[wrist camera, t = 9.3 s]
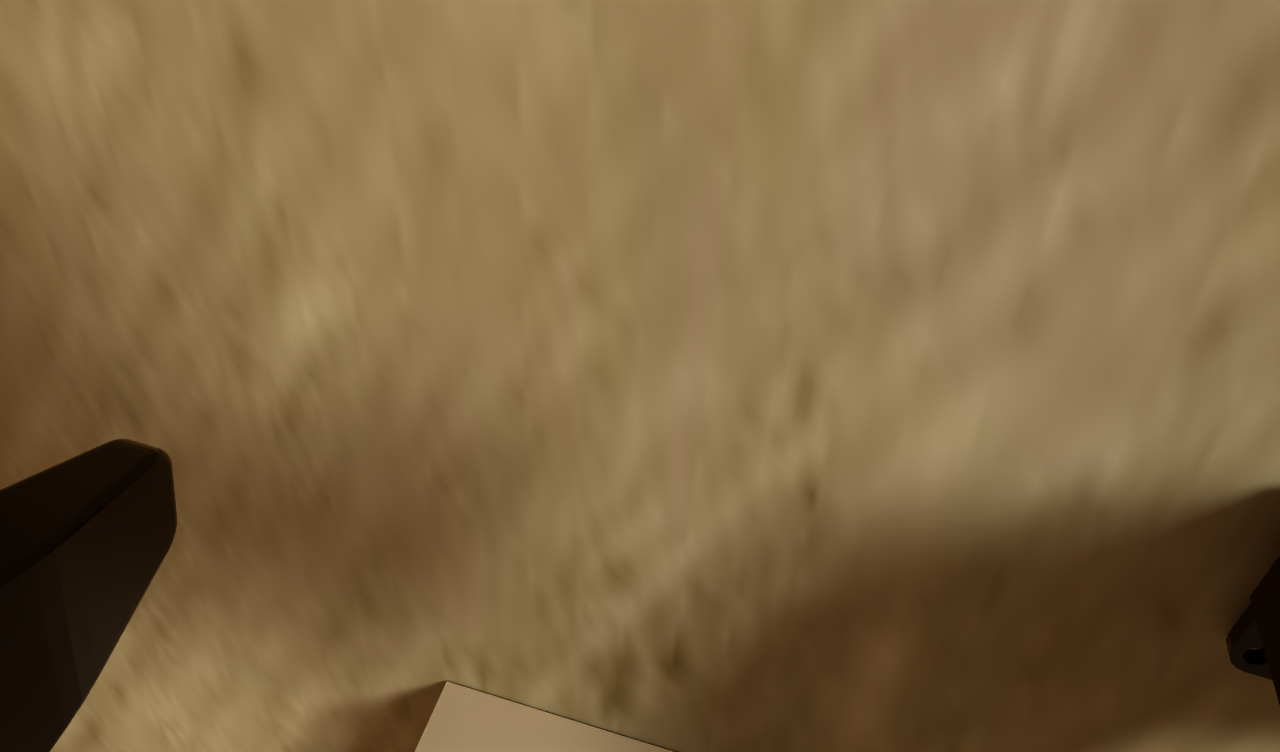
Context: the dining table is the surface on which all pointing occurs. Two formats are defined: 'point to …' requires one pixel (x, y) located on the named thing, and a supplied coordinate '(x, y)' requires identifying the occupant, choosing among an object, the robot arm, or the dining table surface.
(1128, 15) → the dining table surface
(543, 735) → the display pedestal
